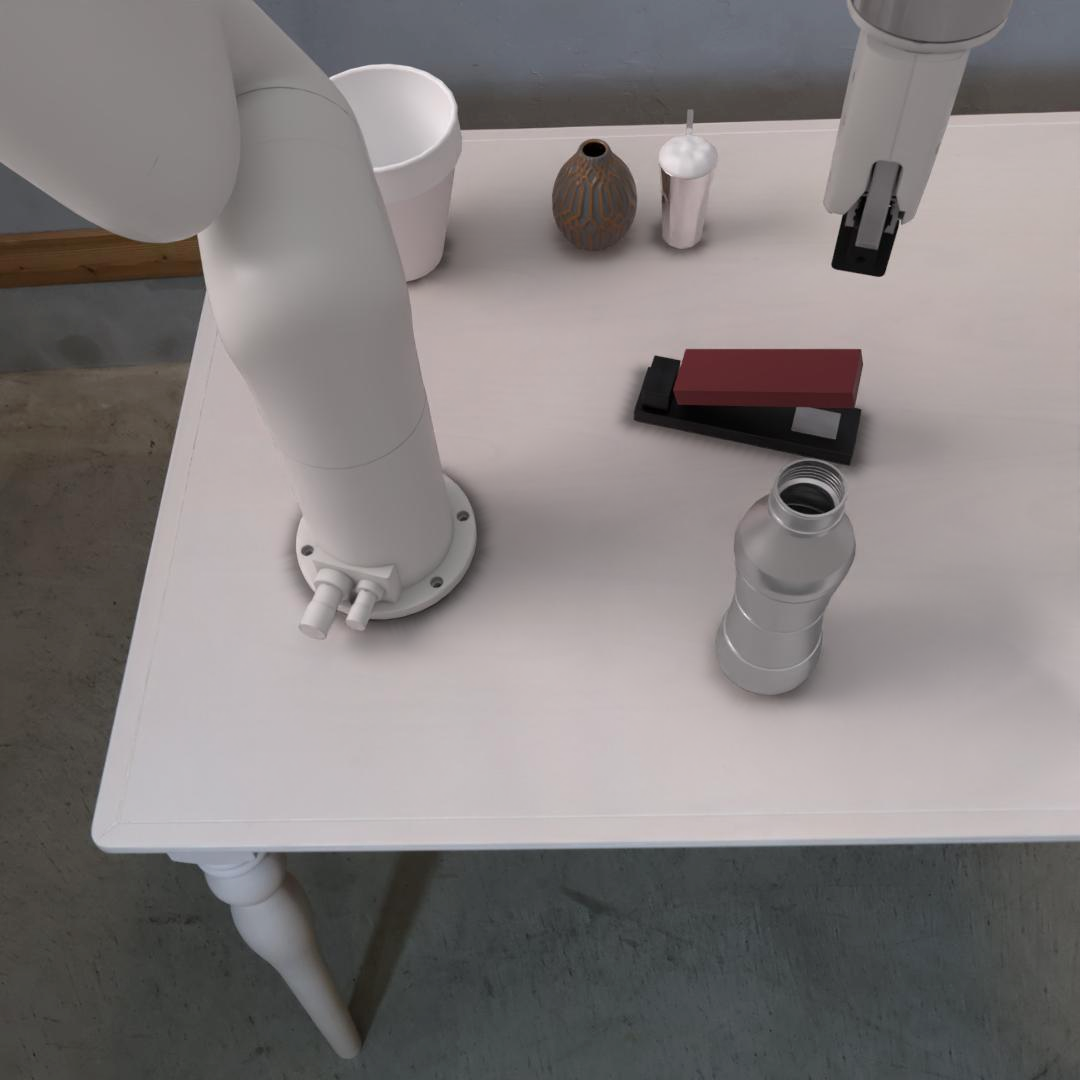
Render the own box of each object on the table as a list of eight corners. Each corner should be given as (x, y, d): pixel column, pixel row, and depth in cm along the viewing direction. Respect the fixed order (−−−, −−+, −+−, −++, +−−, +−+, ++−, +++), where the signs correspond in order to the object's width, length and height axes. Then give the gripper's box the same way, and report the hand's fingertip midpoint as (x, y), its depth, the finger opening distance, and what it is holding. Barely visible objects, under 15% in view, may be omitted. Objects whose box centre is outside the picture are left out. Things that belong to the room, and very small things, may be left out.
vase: (540, 220, 96) (535, 134, 88) (614, 196, 97) (616, 109, 89) (573, 273, 92) (571, 189, 85) (649, 248, 93) (654, 162, 86)
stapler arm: (863, 364, 78) (861, 348, 77) (854, 408, 76) (852, 392, 75) (690, 363, 83) (685, 348, 82) (677, 405, 81) (672, 390, 80)
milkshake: (709, 210, 95) (720, 110, 87) (708, 255, 93) (719, 157, 84) (656, 208, 96) (661, 108, 87) (653, 253, 93) (658, 155, 84)
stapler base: (858, 418, 83) (867, 392, 81) (849, 465, 81) (857, 440, 78) (647, 376, 86) (649, 349, 84) (633, 420, 84) (634, 394, 81)
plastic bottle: (836, 674, 73) (907, 503, 56) (748, 724, 71) (794, 565, 54) (776, 598, 76) (827, 415, 59) (692, 645, 74) (718, 470, 57)
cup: (311, 228, 96) (271, 91, 85) (445, 185, 98) (424, 45, 87) (356, 326, 90) (320, 192, 79) (498, 277, 92) (483, 140, 81)
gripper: (875, -119, 57) (817, 172, 73) (826, 64, 50) (773, 343, 65) (1029, -102, 56) (936, 191, 71) (1003, 88, 48) (905, 368, 64)
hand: (858, 263), depth 68 cm, fingers closed
